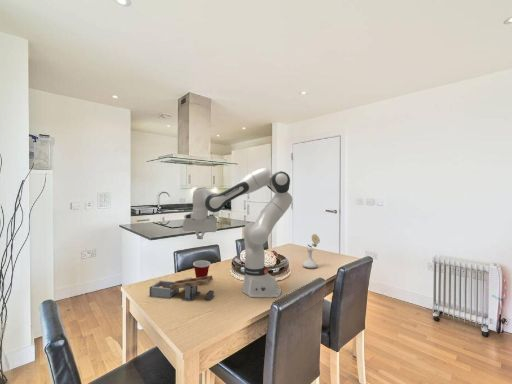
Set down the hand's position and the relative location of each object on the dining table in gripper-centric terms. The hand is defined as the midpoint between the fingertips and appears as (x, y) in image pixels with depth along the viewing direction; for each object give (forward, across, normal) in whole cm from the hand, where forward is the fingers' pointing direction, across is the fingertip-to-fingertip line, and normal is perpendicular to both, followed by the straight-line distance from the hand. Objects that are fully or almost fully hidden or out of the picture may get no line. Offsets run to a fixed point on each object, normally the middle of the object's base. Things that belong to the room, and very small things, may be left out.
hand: (200, 239), depth 149 cm
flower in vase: (+29, -65, -56) cm, 91 cm away
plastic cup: (+29, +3, -10) cm, 31 cm away
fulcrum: (+29, 0, +11) cm, 31 cm away
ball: (+27, +18, +11) cm, 34 cm away
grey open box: (+29, +16, +11) cm, 35 cm away
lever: (+23, 0, +8) cm, 24 cm away
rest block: (+29, -11, +11) cm, 33 cm away
